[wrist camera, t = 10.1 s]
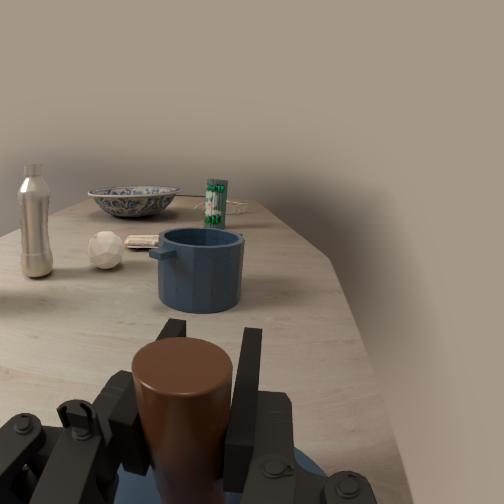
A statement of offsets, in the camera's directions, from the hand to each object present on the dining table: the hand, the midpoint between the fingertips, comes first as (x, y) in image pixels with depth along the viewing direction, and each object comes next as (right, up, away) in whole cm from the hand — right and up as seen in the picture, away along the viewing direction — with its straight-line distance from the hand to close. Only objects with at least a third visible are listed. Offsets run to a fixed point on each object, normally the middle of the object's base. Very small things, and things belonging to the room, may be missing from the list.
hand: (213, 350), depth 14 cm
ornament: (-26, +1, +43) cm, 51 cm away
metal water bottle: (-38, 0, +35) cm, 52 cm away
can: (-10, +12, +87) cm, 88 cm away
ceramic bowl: (-41, +17, +96) cm, 106 cm away
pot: (-7, -2, +36) cm, 36 cm away
